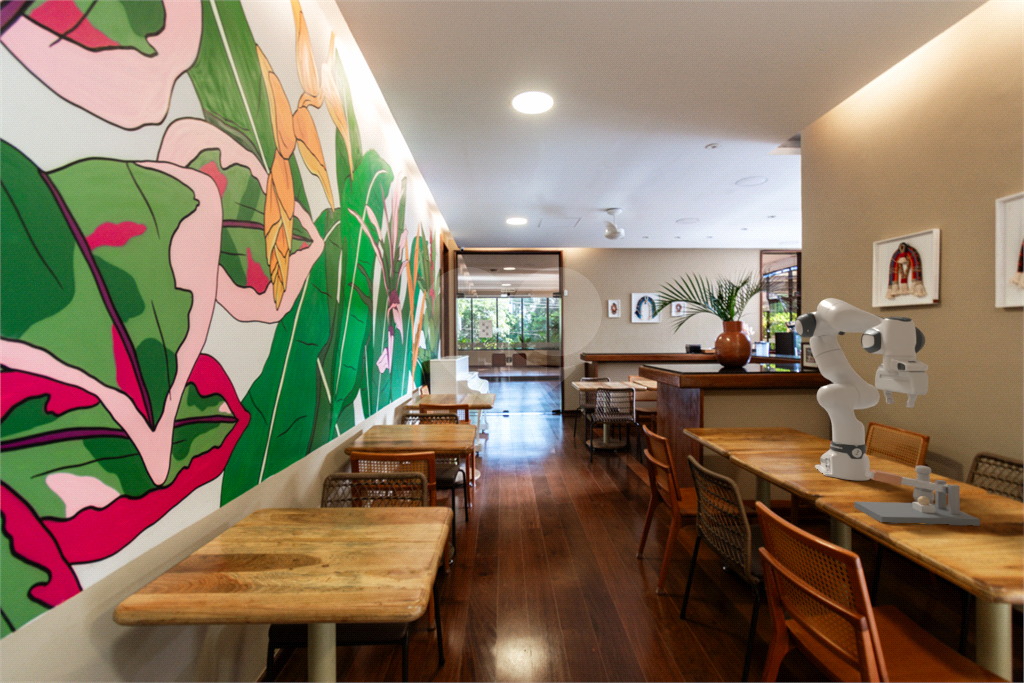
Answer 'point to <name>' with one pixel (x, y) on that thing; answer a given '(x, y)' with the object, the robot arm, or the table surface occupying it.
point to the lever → (906, 481)
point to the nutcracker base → (913, 514)
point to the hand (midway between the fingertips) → (899, 405)
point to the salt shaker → (924, 476)
